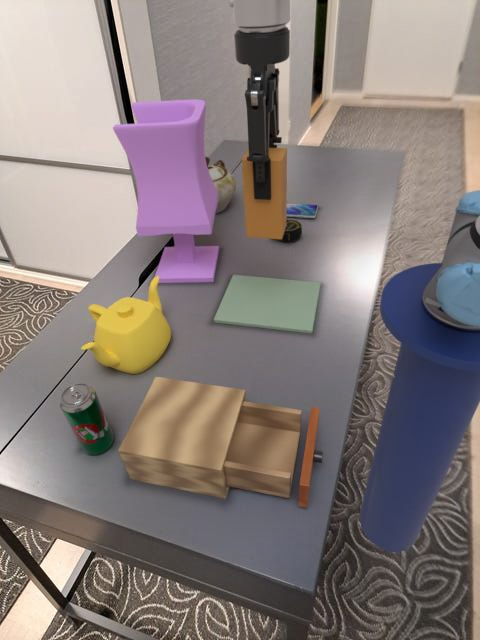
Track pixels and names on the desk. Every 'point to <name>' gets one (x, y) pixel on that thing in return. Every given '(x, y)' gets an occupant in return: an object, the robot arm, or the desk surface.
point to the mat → (269, 303)
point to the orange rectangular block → (266, 214)
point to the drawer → (271, 451)
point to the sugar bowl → (222, 183)
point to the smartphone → (301, 210)
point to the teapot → (130, 332)
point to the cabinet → (183, 436)
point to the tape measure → (292, 231)
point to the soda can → (86, 418)
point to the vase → (173, 184)
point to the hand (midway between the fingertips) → (266, 190)
